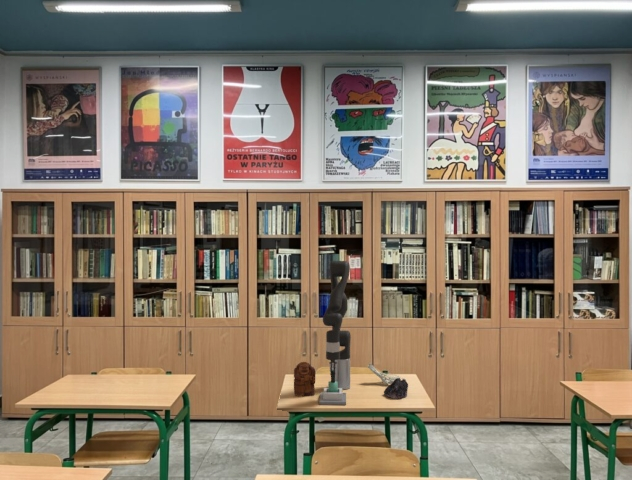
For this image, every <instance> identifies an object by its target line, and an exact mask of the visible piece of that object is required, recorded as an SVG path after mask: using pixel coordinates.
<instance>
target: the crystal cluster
mask: <svg viewBox="0 0 632 480" xmlns="http://www.w3.org/2000/svg"><path fill="white" fill-rule="evenodd" d="M404 379H405V378H403V379H402V378H397V379H395V380H394V381H393V383H392V384H389V385H388V386H387V387H386V388H385V389H384V390H383V394H384V395H385V396H387V397H388V398H391V399H395V400H398V399H404V398H407V397H408V390H409V389H408V388H409V383H408V382H407V379H405V380H404Z"/></svg>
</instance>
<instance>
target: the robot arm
mask: <svg viewBox="0 0 632 480" xmlns="http://www.w3.org/2000/svg"><path fill="white" fill-rule="evenodd" d="M350 268H351V264H350V263H349V261H348V260H332V261H330V264H329V272H330V273H329V276H330V287H331V293H330V295H329V299H328V300H329V301H328V306H327V307H326V310H325V312H324V315H322V316H323V317H322V322H323V325H324V326H327V327H331V329H330V330H327V331H326V339H325V341H326V342H325V359H326V360H328V361H329V360H330V361H329V362H328V363H329V364H328V365H329V372H330V374H329V375H330V381H331V383H335V381H337V382H338V388H342V390H348V389H350V388H351V338H352V337H351V332H350V331H349V330H341V328H342V325H343V324H342V323H343V318H344V317H345V315H346V313H347V312H348V297H347V295H346V293H345V289H346V286H347V282H348V280H349V276H350V272H351V271H350V270H351V269H350ZM338 278H341V279H340V280H338ZM341 347H344V348H343V349H341Z"/></svg>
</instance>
